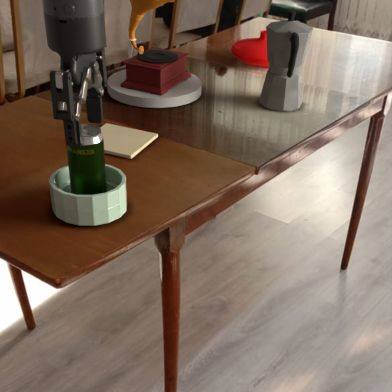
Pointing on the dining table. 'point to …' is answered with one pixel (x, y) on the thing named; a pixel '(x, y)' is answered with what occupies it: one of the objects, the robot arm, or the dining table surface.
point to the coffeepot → (285, 63)
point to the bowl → (88, 199)
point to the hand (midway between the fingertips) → (85, 133)
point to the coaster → (125, 140)
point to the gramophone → (153, 71)
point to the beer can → (88, 163)
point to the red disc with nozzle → (252, 50)
